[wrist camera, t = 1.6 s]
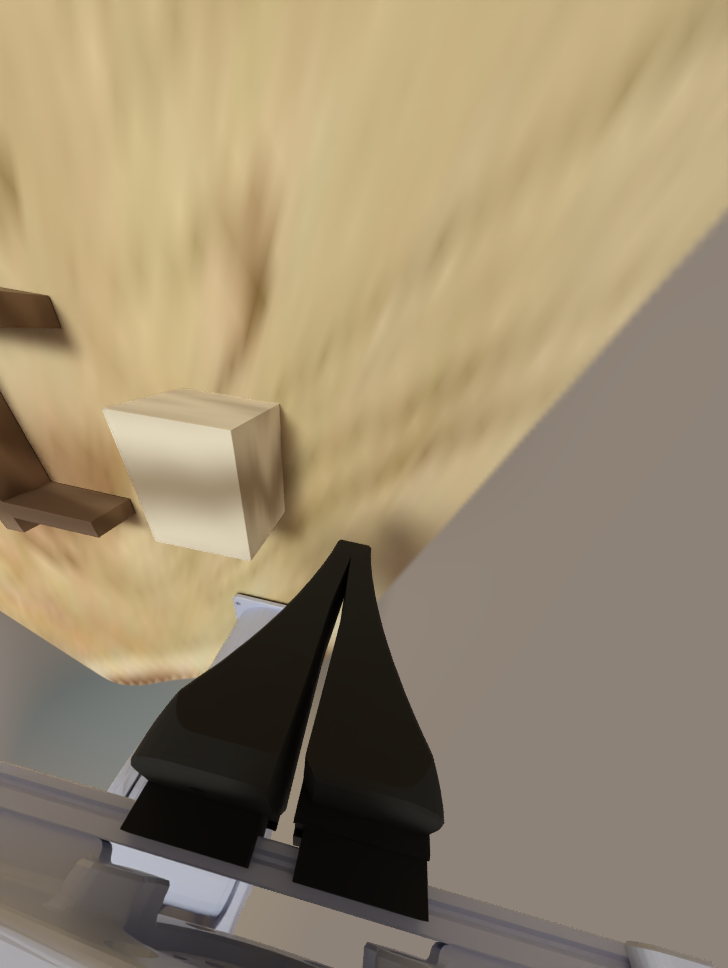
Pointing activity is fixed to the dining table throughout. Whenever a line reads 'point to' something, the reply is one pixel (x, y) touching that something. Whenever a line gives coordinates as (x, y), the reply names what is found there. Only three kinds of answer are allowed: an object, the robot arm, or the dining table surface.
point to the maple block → (203, 467)
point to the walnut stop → (17, 471)
